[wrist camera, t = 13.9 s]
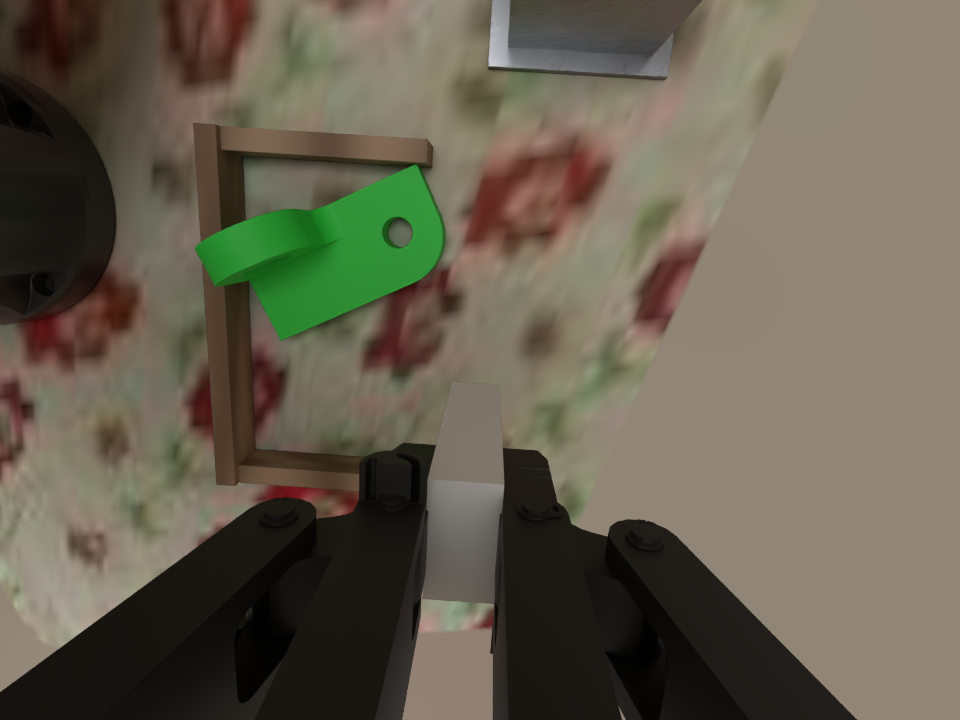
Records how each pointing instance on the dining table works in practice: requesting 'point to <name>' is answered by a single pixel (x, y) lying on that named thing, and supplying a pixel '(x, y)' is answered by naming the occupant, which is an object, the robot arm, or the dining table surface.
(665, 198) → the dining table surface
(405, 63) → the dining table surface
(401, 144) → the bay
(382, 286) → the mechanical part
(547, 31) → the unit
